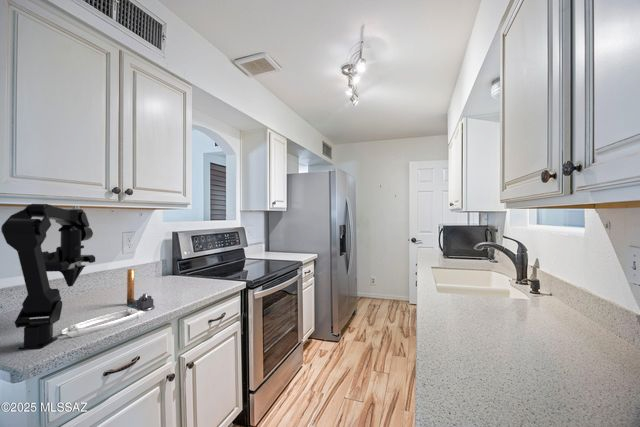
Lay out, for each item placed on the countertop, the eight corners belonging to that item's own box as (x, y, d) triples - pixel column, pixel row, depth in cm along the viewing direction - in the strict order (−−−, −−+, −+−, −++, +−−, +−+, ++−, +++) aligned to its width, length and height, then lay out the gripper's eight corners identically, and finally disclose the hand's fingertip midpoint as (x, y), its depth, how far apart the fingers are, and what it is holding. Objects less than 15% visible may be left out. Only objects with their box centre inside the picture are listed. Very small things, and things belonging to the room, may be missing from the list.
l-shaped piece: (153, 307, 122) (154, 272, 122) (142, 310, 118) (143, 274, 118) (134, 301, 129) (134, 268, 129) (123, 303, 125) (123, 270, 125)
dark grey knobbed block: (150, 311, 118) (150, 296, 118) (131, 311, 117) (131, 296, 117) (157, 305, 125) (157, 291, 125) (140, 306, 124) (140, 292, 124)
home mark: (138, 304, 125) (138, 304, 125) (131, 306, 123) (131, 306, 123) (134, 303, 127) (134, 302, 127) (127, 305, 124) (127, 304, 124)
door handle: (56, 335, 95) (133, 312, 118) (71, 342, 91) (149, 316, 113) (56, 327, 95) (133, 305, 118) (71, 333, 91) (149, 309, 113)
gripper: (65, 240, 113) (64, 280, 113) (23, 246, 95) (22, 294, 95) (96, 240, 115) (95, 280, 115) (61, 246, 96) (60, 293, 97)
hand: (70, 286), depth 105 cm, fingers closed
